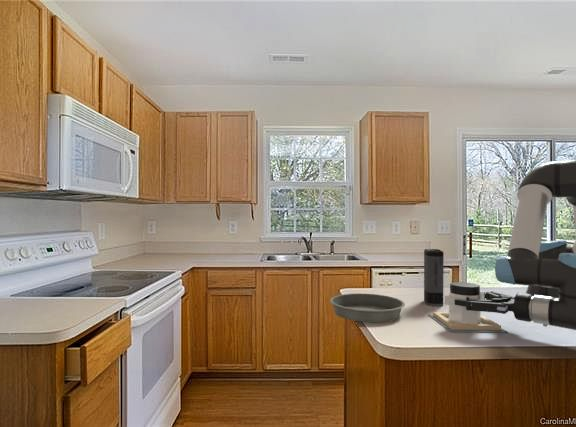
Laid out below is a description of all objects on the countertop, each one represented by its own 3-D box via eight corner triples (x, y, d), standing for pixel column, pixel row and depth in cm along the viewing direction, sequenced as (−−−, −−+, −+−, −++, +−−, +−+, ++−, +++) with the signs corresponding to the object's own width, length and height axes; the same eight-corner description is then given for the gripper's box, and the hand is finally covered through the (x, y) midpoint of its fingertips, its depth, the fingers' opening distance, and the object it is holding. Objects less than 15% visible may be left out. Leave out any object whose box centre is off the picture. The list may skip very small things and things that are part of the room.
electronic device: (444, 306, 140) (444, 251, 140) (427, 305, 141) (427, 251, 141) (439, 300, 149) (439, 249, 149) (423, 300, 150) (423, 248, 150)
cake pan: (321, 319, 122) (321, 305, 122) (339, 303, 145) (339, 291, 145) (401, 328, 113) (401, 313, 113) (407, 309, 136) (407, 296, 136)
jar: (453, 318, 122) (454, 281, 122) (482, 323, 117) (482, 283, 117) (446, 325, 115) (446, 285, 115) (476, 330, 110) (476, 288, 110)
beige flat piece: (477, 315, 127) (477, 311, 127) (507, 332, 109) (507, 327, 109) (428, 315, 127) (428, 310, 127) (450, 332, 109) (450, 326, 109)
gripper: (518, 331, 96) (436, 315, 111) (544, 314, 113) (470, 302, 129) (518, 301, 96) (436, 289, 112) (544, 288, 113) (470, 279, 129)
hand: (454, 296), depth 120 cm, fingers open, 13 cm apart
